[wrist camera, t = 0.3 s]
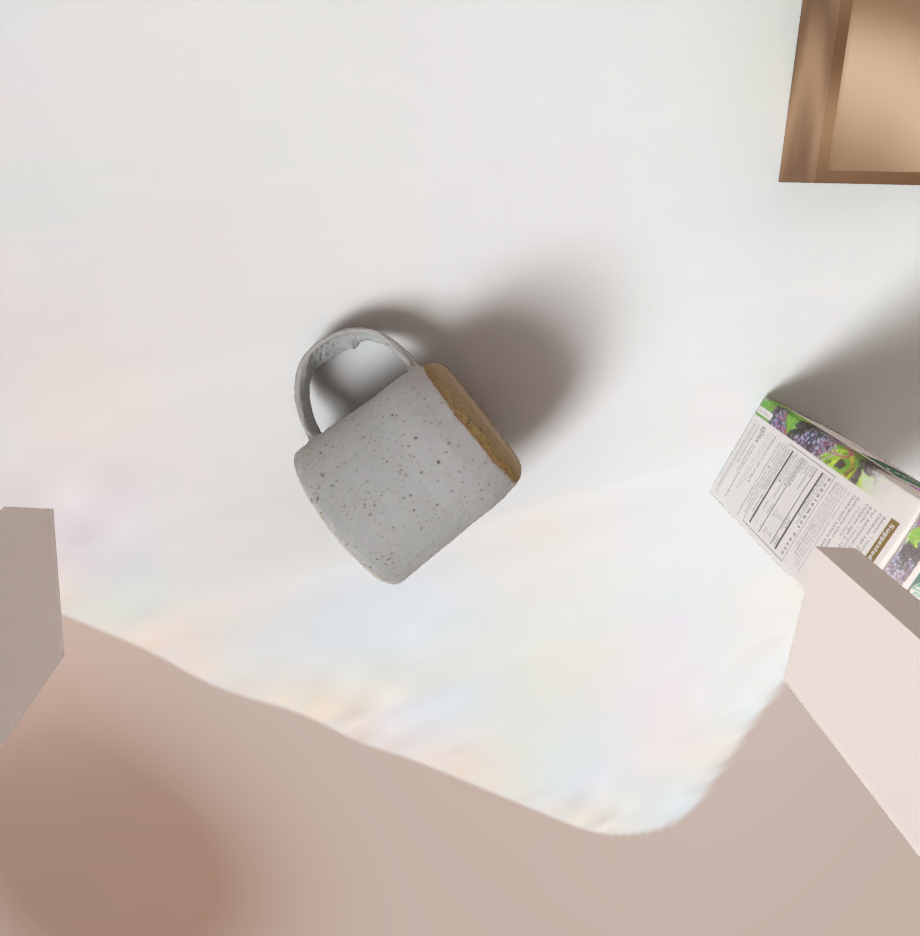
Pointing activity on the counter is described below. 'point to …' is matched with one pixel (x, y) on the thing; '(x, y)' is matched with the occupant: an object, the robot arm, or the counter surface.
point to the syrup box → (820, 496)
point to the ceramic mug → (400, 462)
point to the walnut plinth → (855, 94)
